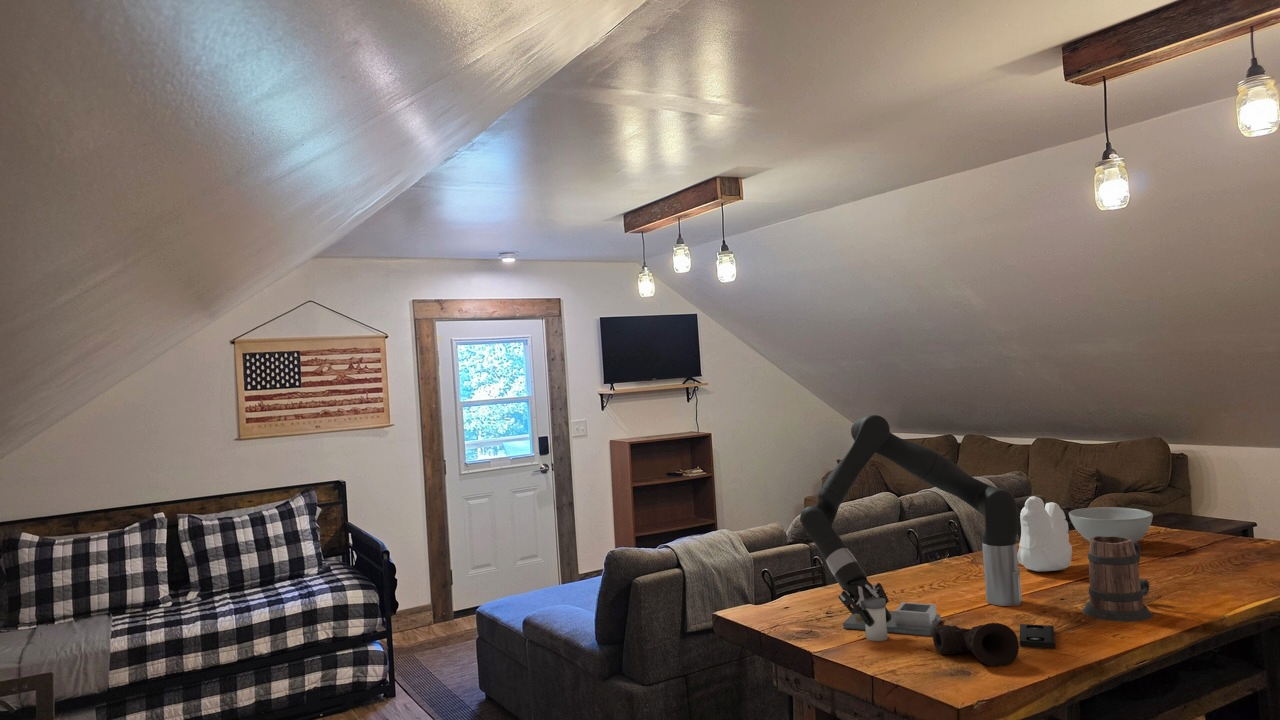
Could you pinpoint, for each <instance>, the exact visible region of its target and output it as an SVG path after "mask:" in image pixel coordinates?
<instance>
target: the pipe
mask: <svg viewBox="0 0 1280 720" xmlns="http://www.w3.org/2000/svg"><path fill="white" fill-rule="evenodd" d="M932 640H933V641H932V642H933V645H934V649H935V650H936V651H937V652H938V653H939V654H941V655H955V654H960V653H962V652H964V651H965V652H971V653H972V655H974V656H975V658H977V659H978V660H979V661H980V662H981V663H983V664H985V665H987V666H991V667H997V668H998V667H1006V666H1008V665H1010V664H1011V663H1013V662H1014V661H1015V660H1016V658H1017V657H1018V654H1019V651H1020V650H1019V649H1020V642H1019V639H1018V636H1017V634H1016V632H1015V631H1014V630H1013V629H1012V628H1011V627H1009V626H1008V625H1006V624H1003V623H1000V622H988V623H985V624H980V625H978V626H977V625H976V626H973V627H972V628H964V627H963V628H962V627H958V626H957V625H950V624H946V625H945V624H944V625H937V627H936V628H934V631H933V633H932Z"/></svg>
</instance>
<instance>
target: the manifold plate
mask: <svg viewBox="0 0 1280 720" xmlns="http://www.w3.org/2000/svg"><path fill="white" fill-rule="evenodd" d="M888 611H889V613H890V614H891V620H890V621H889V622H886V625H887V633H892V634H903V635H912V636H914V635H915V636H924V637H925V636H926V637H931V636H932V635H933V631H934V628H936V627H938V626H939V623H940V622H941V621H942V615H941V614H937V606H936V604H932V603H920V602H919V603H917V602H905V601H902V602H901V603H900V604H899V605H898V607H896V609H895V610H888ZM842 627H843V629H846V630H855V631H856V630H859V631H866V629H865V622H864V621H863V619H862V617H861V616H860V615H858V614H852V613H851V614H850V615H849V616H848V618H846V619H845V621H843V622H842Z"/></svg>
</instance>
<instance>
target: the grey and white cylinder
mask: <svg viewBox="0 0 1280 720" xmlns="http://www.w3.org/2000/svg"><path fill="white" fill-rule="evenodd" d="M863 604H864V607H865V608H866V609H865V610H867V611H868V612H869V614H870V616H871V617H872V619H873V620H874V624H873V625H872V626H871V627H869V626H868V625H866V624H865V629H866V630H865V638H866V640H868V641H872V642H883V641H884V642H885V641H886V640H888V632H887V625H886V612H885V607H886V606H887V604H886V601H885V599H884V598H881V597H870V598H865V599H864V600H863ZM886 608H887V607H886Z"/></svg>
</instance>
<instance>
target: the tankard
mask: <svg viewBox="0 0 1280 720" xmlns="http://www.w3.org/2000/svg"><path fill="white" fill-rule="evenodd" d="M1140 558H1141V545H1140V544H1139V543H1138V541H1137V542H1133V541H1132V540H1131V539H1129V538H1125V537H1116V536H1111V537H1102V536H1095V537H1091V538H1090V541H1089V549H1088V552H1087V560H1088V570H1089V571H1088V572H1089V573H1088V574H1089V577H1088V578H1089V586H1088V595H1089V601H1088V602H1087V603H1086V605H1085V606H1084V608H1082V610H1081V612H1082V613H1083V614H1084V615H1086V616H1088V617H1091V618H1094V619H1098V620H1102V621H1110V622H1123V623H1124V622H1125V623H1132V622H1134V623H1135V622H1142V621H1148V620H1150V619H1152V618H1153V617H1154V615H1153V613H1152V612H1151V611H1150V609H1149V608H1148V606H1147V605H1145V604H1144V601H1143V598H1144V597H1146V596H1147V595H1148V593H1149V592H1150V582H1149V581H1148V580H1147V579H1142V578H1140V571H1139V565H1140V560H1141V559H1140Z"/></svg>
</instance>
